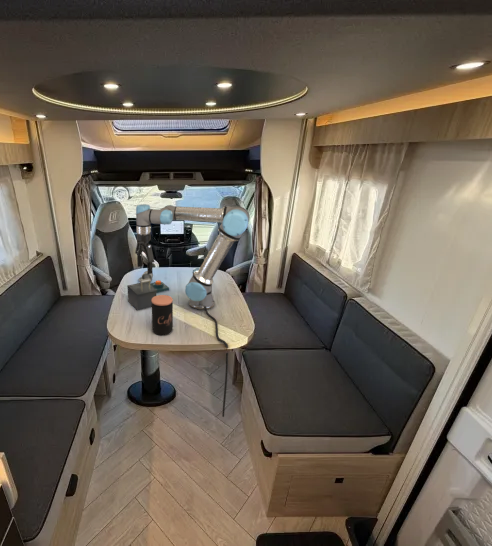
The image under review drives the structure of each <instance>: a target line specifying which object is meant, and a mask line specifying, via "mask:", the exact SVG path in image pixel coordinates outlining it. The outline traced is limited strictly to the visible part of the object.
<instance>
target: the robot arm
mask: <svg viewBox="0 0 492 546" xmlns="http://www.w3.org/2000/svg"><path fill="white" fill-rule="evenodd" d="M135 220H136V221H135V222H136V245H135V246H136V247H135V250H134V251H135V252H134V254H136V263H137V264H136V265H137V268H140V267H143V253H144V254H145V258H146V261H147V262H146V266H147V267H146V269H147V270H146V271H147V273H148V274H152V273H153V263H155V258H154V253H153V249H152V247H153V245H152V244H150V243H149V242H150V241H152V238H151V237H152V235H151V228H152V227H151V224H154V225H164V226H165V225H171V224H172V222H173V221H185V222H186V221H189V222H203V223H204V222H205V223H218V224H219V223H220V225H219V227H218V228H217V229H218V235H217V236H216V238H215V240H214V242H213V243H212V246H211V248H210V249H209V251H208V253H207V255H206V256H205V258H204V260H203V262H202V263H201V265H200V267H195V268H193V269H192V272H191V273H192V276H191V277H190V279H189V281H188V283H187V284H186V285H185V289H184V290H185V291H184V292H185V295H186V297H187V298H188V299H189V300H188V305H189V306H190V307H191V308H193V309H195V310H199V311H205V313H206V315H207V316H208V317H209V318H210V319H212V320H213V321H214V323H215V335H216V336H215V337H216V339H217V340H218V341H219V342H221V343H223V344H224V345H225V348H226V349H228V348H229V345H228V343H227V342H226V341H225V340H223V339H221V337H219V329H218V321H217V319H216V318H215V317H214V316H212V315H211V314H210V313H209V312H208V310H210V309H213V307H214V306H215V300H214V296H213V293H212V292H213V285H214V280H213V278H214V277H215V275H216V273H217V272H218V270H219V269H220V267H221V265H222V263H223V261H225V258H226V256H227V255H228V253H229V251H230V250H231V248H232V247H233V245H234V243H235V242H238V241H240V239H241V237H242V236H243V233H245V232H246V230H247V228H248V226H249V222H250V213H249V211H248V210H247V209H246V208H245V207H242V206H223V207H222V208H220V207H202V206H201V207H200V206H199V207H197V206H195V207H194V206H178V205H177V206H175V205H172V204H168V205H167V204H166V205H165V206H164V207H161V208H159V209H153V208H151V205H150V204H146V203H143V204H137V205H136V206H135ZM228 369H229V352H226V353H225V375H224V376H225V377H224V389H223V401H222V403H223V404H222V412H221V413H222V414H221V417H223V418H224V417H225V412H226V411H225V409H226V397H227V386H228V373H229V372H228V371H229V370H228Z"/></svg>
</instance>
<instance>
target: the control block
mask: <svg viewBox="0 0 492 546" xmlns="http://www.w3.org/2000/svg"><path fill="white" fill-rule="evenodd" d="M150 285H151V286H152V287H153V288H155V289H156V290H157V292H156V294H159V293H163V292H167V291H170V287H169V286H168V285H166V284H165V283H164V282H162V281H161V284H159V285H157V284H156V281H154V282H152V283H151V282H150Z"/></svg>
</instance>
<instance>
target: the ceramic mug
mask: <svg viewBox="0 0 492 546" xmlns="http://www.w3.org/2000/svg"><path fill="white" fill-rule="evenodd" d="M148 278H150V279H151V281H150V283H151V282H152V281H153V278H154V274H153V272H152V274H148V273H147V270H145V271H144V272H143V274H142V275H141V276H140V277H138V279H137V281H138V283H140V280H143V279H148ZM147 283H148V284H149V282H147Z"/></svg>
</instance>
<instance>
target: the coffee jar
mask: <svg viewBox="0 0 492 546" xmlns="http://www.w3.org/2000/svg"><path fill="white" fill-rule="evenodd" d="M173 304H174V303H173V297H172V296H170V295H167V294H158V295H157V296H155V297H153V298H152V307H151V330H152V332H153V334H155V335H157V336H161V337H162V336H167V335H170V334H171V333H172V332H173V330H174V324H173V323H174V321H173V320H174V307H173V306H174V305H173Z"/></svg>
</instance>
